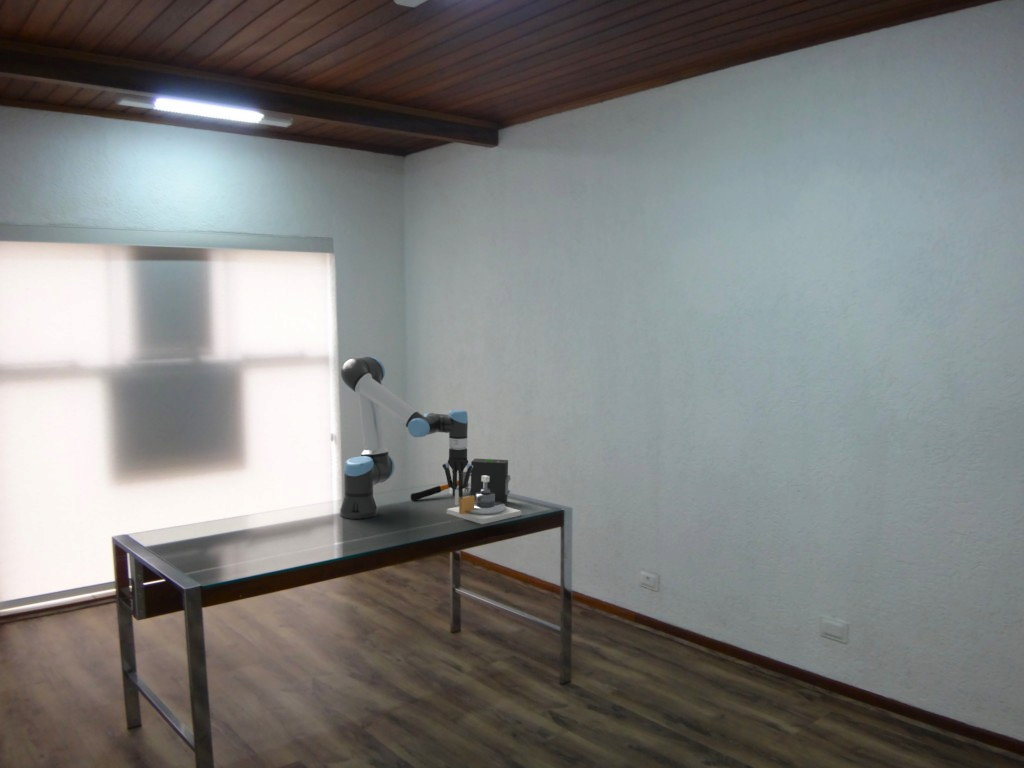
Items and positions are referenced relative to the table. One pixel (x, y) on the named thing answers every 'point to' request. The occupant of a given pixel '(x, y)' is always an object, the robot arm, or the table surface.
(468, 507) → the turntable
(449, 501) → the table surface
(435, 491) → the hammer
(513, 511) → the turntable base
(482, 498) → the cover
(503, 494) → the router
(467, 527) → the table surface
